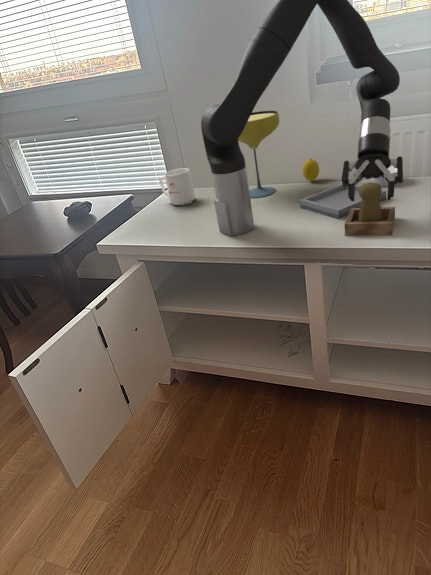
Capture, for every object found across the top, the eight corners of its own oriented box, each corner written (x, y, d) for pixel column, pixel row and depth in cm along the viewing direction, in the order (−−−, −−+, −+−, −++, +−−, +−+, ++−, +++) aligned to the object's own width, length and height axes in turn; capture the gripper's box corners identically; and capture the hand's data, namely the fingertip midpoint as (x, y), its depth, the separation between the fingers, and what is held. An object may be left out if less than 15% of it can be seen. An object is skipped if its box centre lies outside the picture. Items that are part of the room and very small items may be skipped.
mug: (199, 197, 157) (193, 167, 152) (188, 206, 150) (181, 175, 145) (171, 198, 162) (164, 169, 157) (159, 207, 155) (152, 177, 150)
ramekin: (374, 179, 140) (374, 166, 138) (403, 178, 136) (403, 165, 134) (367, 188, 134) (367, 174, 132) (397, 188, 130) (397, 173, 127)
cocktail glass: (273, 202, 138) (263, 120, 126) (225, 201, 147) (211, 125, 136) (294, 183, 151) (287, 108, 139) (248, 184, 160) (238, 113, 148)
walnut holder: (344, 235, 107) (344, 224, 105) (351, 218, 115) (350, 208, 114) (391, 235, 102) (392, 223, 101) (394, 217, 111) (395, 206, 109)
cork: (366, 233, 106) (365, 190, 100) (353, 226, 111) (351, 184, 106) (388, 227, 107) (388, 183, 101) (374, 220, 112) (374, 178, 107)
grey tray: (338, 219, 116) (338, 210, 115) (300, 207, 129) (299, 199, 128) (386, 199, 123) (386, 190, 122) (345, 190, 136) (344, 182, 135)
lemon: (318, 178, 152) (317, 155, 148) (320, 182, 147) (319, 159, 143) (302, 180, 153) (301, 157, 149) (304, 185, 148) (302, 161, 144)
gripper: (343, 134, 109) (338, 194, 105) (404, 128, 103) (402, 190, 100) (346, 150, 116) (342, 206, 112) (404, 145, 110) (402, 204, 106)
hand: (370, 199), depth 106 cm, fingers open, 8 cm apart
